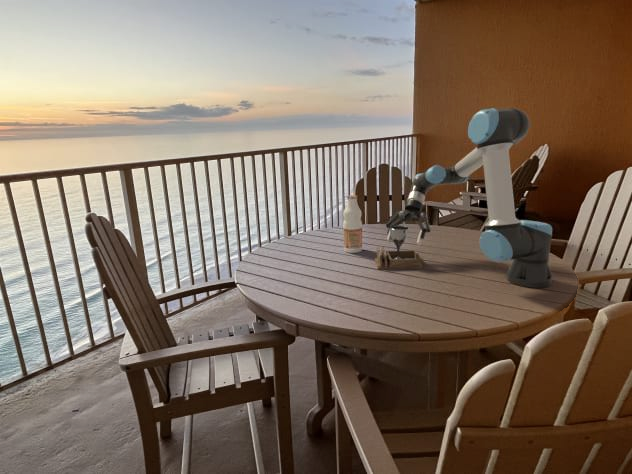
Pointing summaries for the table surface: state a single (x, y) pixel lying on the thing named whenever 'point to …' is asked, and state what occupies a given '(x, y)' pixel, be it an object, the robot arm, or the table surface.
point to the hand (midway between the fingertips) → (402, 242)
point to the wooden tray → (398, 260)
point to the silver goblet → (398, 237)
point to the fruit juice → (352, 226)
